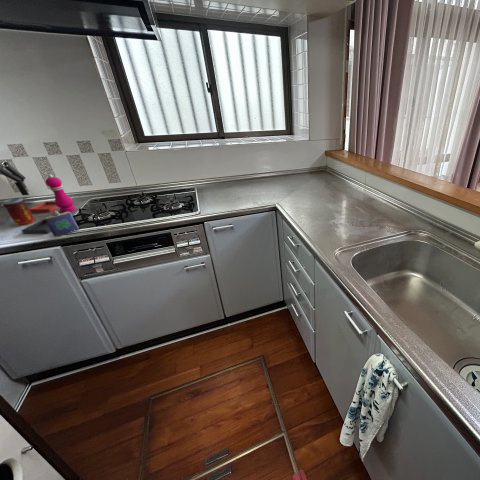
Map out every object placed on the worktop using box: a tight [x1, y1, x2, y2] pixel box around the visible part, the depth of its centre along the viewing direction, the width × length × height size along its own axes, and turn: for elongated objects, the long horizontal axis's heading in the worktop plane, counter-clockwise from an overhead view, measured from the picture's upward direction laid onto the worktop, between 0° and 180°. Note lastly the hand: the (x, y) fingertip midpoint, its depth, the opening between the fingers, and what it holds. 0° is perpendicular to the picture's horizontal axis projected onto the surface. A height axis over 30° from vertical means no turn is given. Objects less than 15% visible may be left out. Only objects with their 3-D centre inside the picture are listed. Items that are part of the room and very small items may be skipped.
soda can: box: [2, 197, 35, 227], centre depth 130 cm, size 7×7×12 cm
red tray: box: [29, 200, 60, 214], centre depth 148 cm, size 11×11×2 cm
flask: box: [43, 210, 80, 238], centre depth 121 cm, size 9×3×11 cm, turn 144°
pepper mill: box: [45, 174, 77, 213], centre depth 141 cm, size 7×7×20 cm
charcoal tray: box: [21, 219, 52, 235], centre depth 127 cm, size 11×11×2 cm
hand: (12, 200), depth 127 cm, fingers open, 13 cm apart
